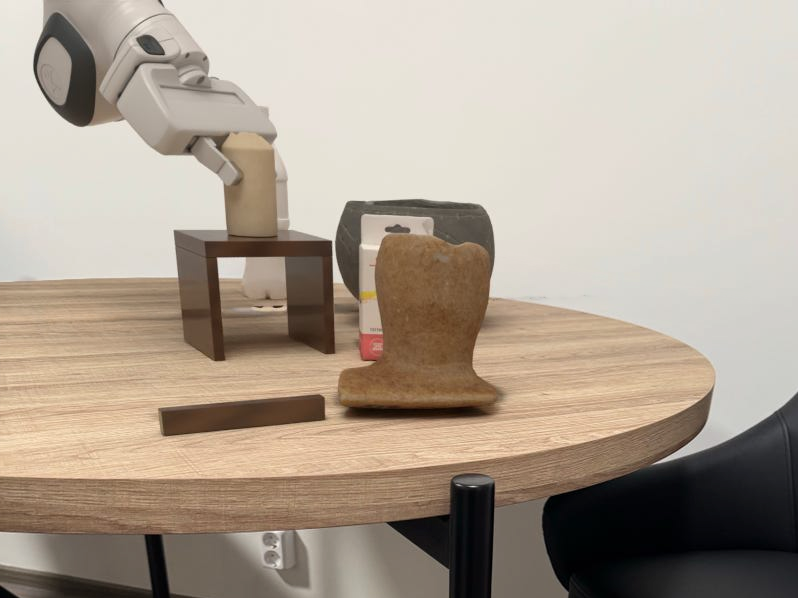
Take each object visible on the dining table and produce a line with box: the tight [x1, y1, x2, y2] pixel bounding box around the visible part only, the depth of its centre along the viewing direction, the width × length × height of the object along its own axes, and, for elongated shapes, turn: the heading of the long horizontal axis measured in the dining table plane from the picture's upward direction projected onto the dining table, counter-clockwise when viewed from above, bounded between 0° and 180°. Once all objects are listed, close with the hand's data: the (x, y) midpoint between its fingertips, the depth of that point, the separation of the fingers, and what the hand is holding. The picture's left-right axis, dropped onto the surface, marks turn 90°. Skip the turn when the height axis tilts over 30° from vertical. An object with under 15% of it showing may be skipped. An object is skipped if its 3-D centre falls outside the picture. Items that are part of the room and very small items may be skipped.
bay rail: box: [157, 393, 326, 436], centre depth 79 cm, size 14×1×2 cm, turn 121°
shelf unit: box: [173, 229, 336, 362], centre depth 106 cm, size 14×12×12 cm
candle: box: [221, 132, 278, 237], centre depth 101 cm, size 6×6×10 cm
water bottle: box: [240, 105, 291, 309], centre depth 129 cm, size 7×7×25 cm
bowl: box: [334, 198, 496, 302], centre depth 124 cm, size 21×21×15 cm
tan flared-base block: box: [337, 233, 500, 410], centre depth 86 cm, size 15×12×15 cm
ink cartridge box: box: [358, 214, 434, 361], centre depth 104 cm, size 9×5×15 cm, turn 100°
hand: (254, 181), depth 101 cm, fingers closed on candle, 5 cm apart
